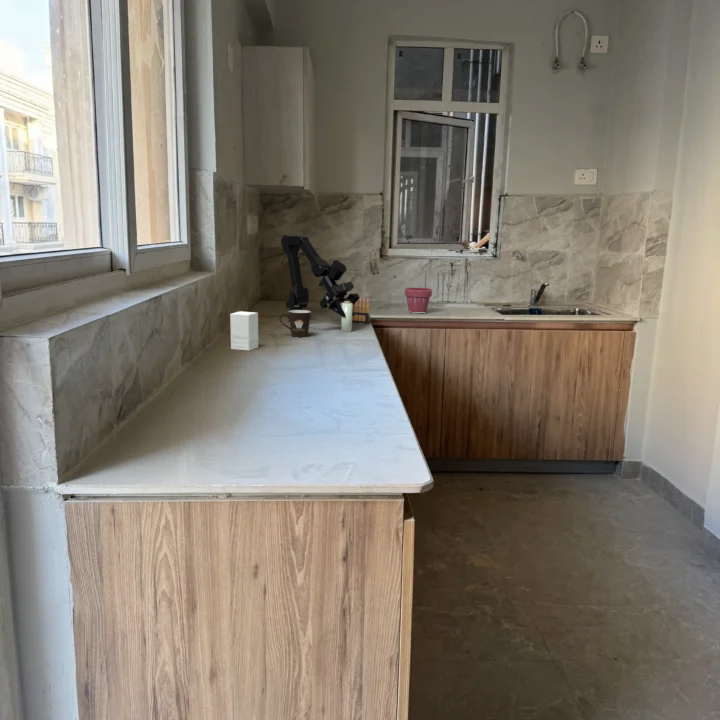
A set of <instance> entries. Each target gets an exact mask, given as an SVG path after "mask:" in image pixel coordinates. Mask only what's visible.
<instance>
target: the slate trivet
mask: <svg viewBox="0 0 720 720" xmlns="http://www.w3.org/2000/svg"><path fill="white" fill-rule="evenodd" d="M309 327H312V328H311V329H314V328H316V329H315V330H319V329H321V330H320V331H329V330H328V329H331V330H338V329H337V328H340V329H341V324H335V323H334V324H333V323H329V322H319V323H309Z"/></svg>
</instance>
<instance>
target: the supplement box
mask: <svg viewBox="0 0 720 720" xmlns="http://www.w3.org/2000/svg"><path fill="white" fill-rule="evenodd" d="M229 316H230V317H229V318H230V324H229V325H230V350H236V351H237V350H239V351H253V350H255V349H258V348H259V312H253V311H252V312H251V311H241V310H240V311H235V312H232V313H230V314H229Z"/></svg>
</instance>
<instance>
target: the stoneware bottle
mask: <svg viewBox="0 0 720 720" xmlns="http://www.w3.org/2000/svg"><path fill="white" fill-rule="evenodd" d="M352 305H353V303H350V301H344V303H341V307H342V309H343V311H344V313H345V315H346V316H345V317H342V316H341V315H340V316H341V323H340V326H341V328H340V331H343V332H342V333H352V332H353V323H352ZM351 331H352V332H351Z"/></svg>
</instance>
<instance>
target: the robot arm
mask: <svg viewBox="0 0 720 720" xmlns="http://www.w3.org/2000/svg"><path fill="white" fill-rule="evenodd" d="M309 239H310V238H309V237H308V236H306V235H299V236H298V235H297V234H285V235H283V236H282V237H281V239H280V244H281V249H282V251H283V252H284V253H285V255H286V256H287V263H288V268H289V269H288V270H289V276H290V283H291V288H290V289H289V298H288V299H287V300H286V302H285V307H286V309H289V310H288V312H289V311H291V310H305V309H307V308H308V304H309V300H310V294H309V288H308V287H305V286H304V284H303V279H302V278H303V277H302V271H301V265H300V258H299V252H300V250H301V251H302V253H303V254H304V255H305V257H306V259H307V260H308V261H309V264H310V270H311V272H312V274H313V276H314V277H315V278H321V279H319V282H318V286H319V287H324V290H326V291H325V292H326V293H325V295H324V296H323V297H322V298H321V300H320V301H319V307H320V308H321V309H328V310H331V311H332V312H334V313H336V314H338V315H340V316H342V317H345V316H346V315H345V313H344V311H343V309H342V303H344V301H350V303H353V305H354V306H355V303H356V302H357V301H358V302H359V300H360V295H359V294H358V293H354V292H353V293H349V294H348V292H350V291H352V290H353V289H354V283H353V282H352V281H347V282H342V283H340V284H338V282H337V281H340V279H341V278H342V277H343V275H345V273H346V272H347V270H348V269H347V266H346V265H345V264H344V263H343V262H341V261H339V260H338V259H337V260H335V259H334V260H333V262H332V264H331V265H330V264H329V263H328V261H326V260H325V259H323V258H321V257H320V255H319V253H318V251H316V249H315V248H314V246H313V245H312V243H311V242H310V240H309ZM353 305H352V317H353V316H354V317H355V315H354V312H355V311H353ZM304 308H305V309H304ZM288 323H290V320H289V319H288Z"/></svg>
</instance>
